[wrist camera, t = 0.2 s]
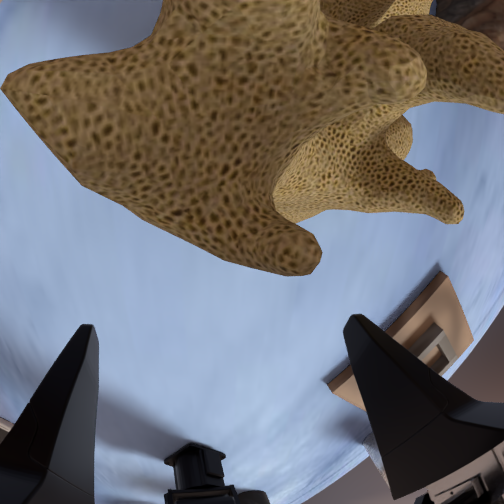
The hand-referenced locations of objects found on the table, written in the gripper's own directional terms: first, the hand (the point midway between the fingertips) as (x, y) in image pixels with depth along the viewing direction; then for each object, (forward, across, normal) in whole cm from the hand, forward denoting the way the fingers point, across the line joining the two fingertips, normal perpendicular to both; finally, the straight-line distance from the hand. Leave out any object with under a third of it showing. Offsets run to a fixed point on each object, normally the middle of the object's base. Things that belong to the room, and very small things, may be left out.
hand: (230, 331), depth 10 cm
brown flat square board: (+10, -31, +23) cm, 40 cm away
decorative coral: (+18, -6, -8) cm, 21 cm away
